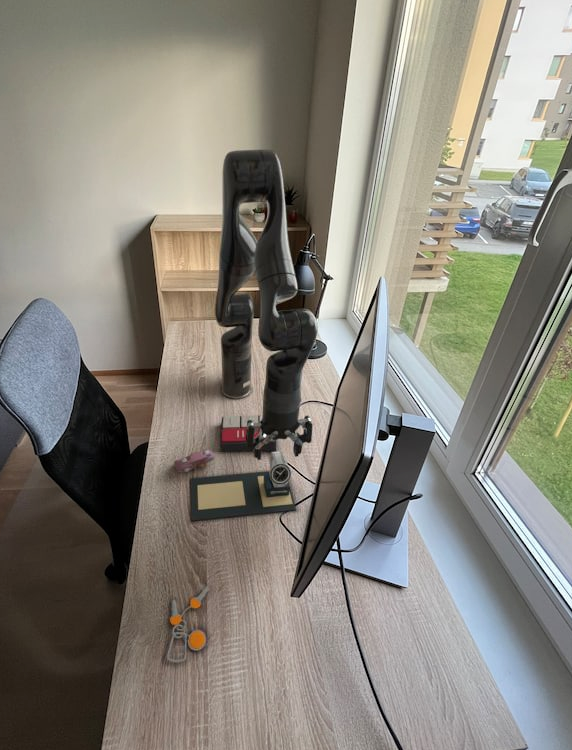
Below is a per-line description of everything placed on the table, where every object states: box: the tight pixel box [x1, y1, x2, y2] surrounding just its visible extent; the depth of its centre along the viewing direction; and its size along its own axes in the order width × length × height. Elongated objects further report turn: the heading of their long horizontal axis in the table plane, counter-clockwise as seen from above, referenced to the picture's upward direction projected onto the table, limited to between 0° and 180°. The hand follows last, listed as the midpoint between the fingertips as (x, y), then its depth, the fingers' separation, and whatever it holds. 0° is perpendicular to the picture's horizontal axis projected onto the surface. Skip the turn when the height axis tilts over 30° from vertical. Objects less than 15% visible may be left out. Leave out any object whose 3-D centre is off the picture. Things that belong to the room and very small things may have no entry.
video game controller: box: [173, 449, 215, 473], centre depth 102 cm, size 10×5×7 cm, turn 118°
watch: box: [263, 450, 293, 497], centre depth 94 cm, size 6×8×11 cm
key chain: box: [166, 586, 210, 664], centre depth 73 cm, size 13×7×1 cm, turn 178°
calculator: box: [219, 414, 277, 453], centre depth 111 cm, size 11×4×15 cm
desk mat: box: [190, 470, 297, 522], centre depth 96 cm, size 12×24×1 cm, turn 97°
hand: (277, 455), depth 90 cm, fingers open, 8 cm apart
